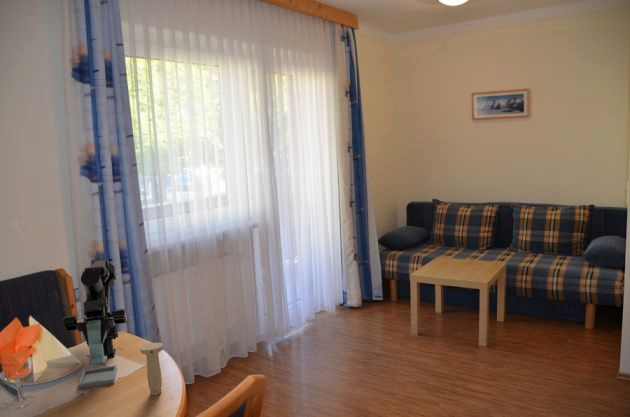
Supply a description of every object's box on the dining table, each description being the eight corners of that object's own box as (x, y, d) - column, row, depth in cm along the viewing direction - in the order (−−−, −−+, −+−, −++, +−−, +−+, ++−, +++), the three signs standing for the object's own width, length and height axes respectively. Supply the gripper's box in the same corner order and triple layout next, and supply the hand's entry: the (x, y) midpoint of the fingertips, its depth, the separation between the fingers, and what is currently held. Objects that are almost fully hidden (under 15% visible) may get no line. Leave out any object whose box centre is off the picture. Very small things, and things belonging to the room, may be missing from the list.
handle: (167, 395, 151) (162, 347, 149) (144, 399, 149) (139, 351, 147) (166, 387, 155) (162, 341, 153) (145, 391, 154) (140, 344, 151)
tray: (84, 374, 166) (83, 370, 166) (117, 369, 169) (116, 365, 169) (78, 389, 156) (78, 384, 156) (114, 383, 159) (113, 379, 159)
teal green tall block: (90, 361, 163) (85, 320, 161) (107, 359, 165) (102, 318, 162) (88, 368, 159) (83, 326, 156) (105, 365, 160) (101, 324, 158)
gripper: (59, 292, 159) (57, 339, 150) (122, 285, 164) (123, 330, 156) (66, 308, 167) (64, 353, 159) (126, 300, 173) (127, 343, 164)
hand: (95, 344), depth 159 cm, fingers closed on teal green tall block, 4 cm apart
